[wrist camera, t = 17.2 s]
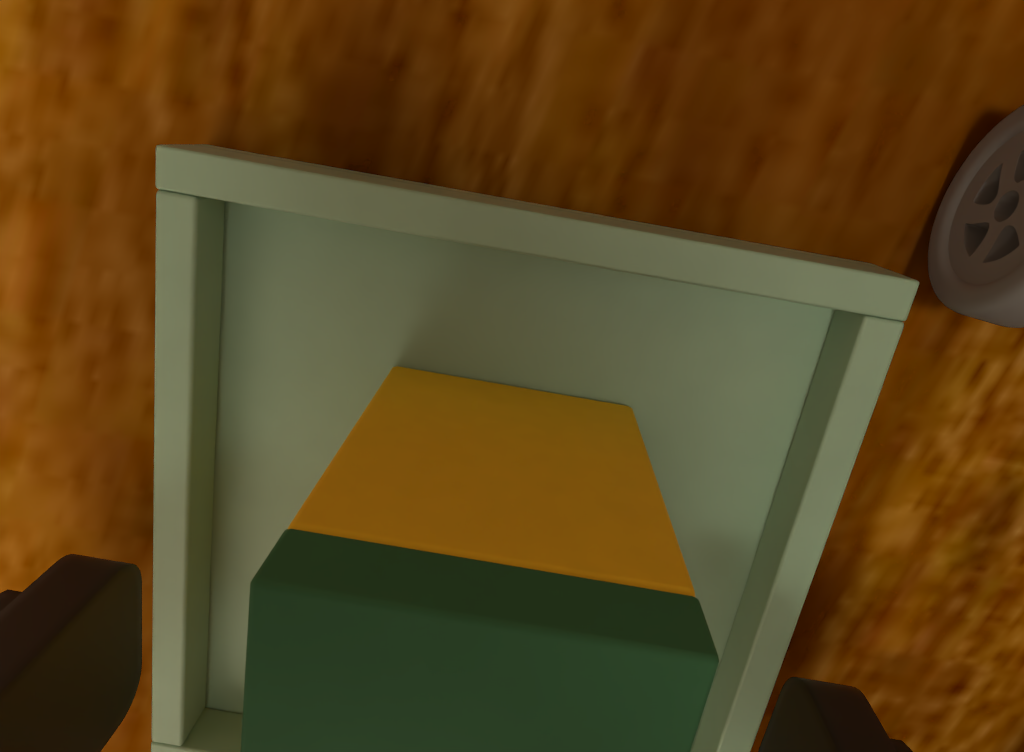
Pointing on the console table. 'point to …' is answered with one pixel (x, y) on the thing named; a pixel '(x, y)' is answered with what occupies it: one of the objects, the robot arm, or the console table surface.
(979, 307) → the toy car
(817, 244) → the console table surface
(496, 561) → the sponge
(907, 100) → the console table surface
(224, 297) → the soap dish
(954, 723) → the console table surface
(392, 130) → the console table surface
